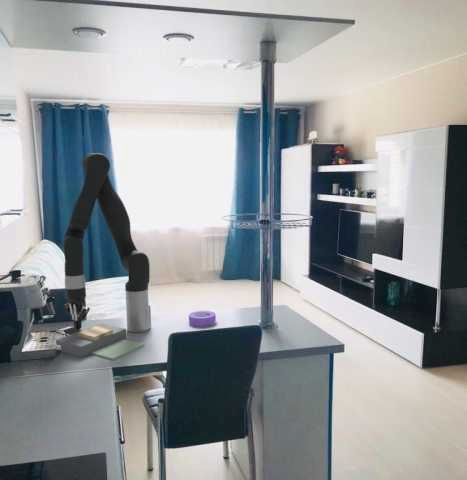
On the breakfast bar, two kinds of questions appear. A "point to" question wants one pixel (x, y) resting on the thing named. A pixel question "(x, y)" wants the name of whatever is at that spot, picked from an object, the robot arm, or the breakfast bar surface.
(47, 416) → the breakfast bar surface
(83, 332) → the cork coaster
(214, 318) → the masking tape
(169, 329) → the breakfast bar surface
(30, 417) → the breakfast bar surface
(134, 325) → the robot arm
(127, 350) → the sage mat
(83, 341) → the gray rectangular box
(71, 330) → the smartphone
